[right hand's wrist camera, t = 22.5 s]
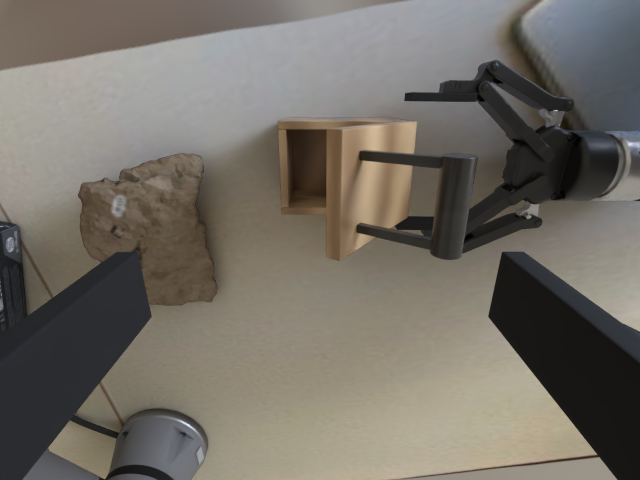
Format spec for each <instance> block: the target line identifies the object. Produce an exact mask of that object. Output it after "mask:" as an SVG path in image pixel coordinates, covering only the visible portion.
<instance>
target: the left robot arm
mask: <svg viewBox="0 0 640 480" xmlns="http://www.w3.org/2000/svg"><path fill="white" fill-rule="evenodd" d="M491 82H492V83H494V84H495V85H497V86H498V87H500V88H502V89H503V90H505V91H506V92H508V93H510V94H511V95H513V96H514V97H516V98H518V99H519V100H521V101H522V102H524V103H525V104H527V105H529V106H531V107H533V108H535V109H540V110H539V112H538V113H539V114H540V116H541V117H542V118H544V119H545V121H546V124H545V125H544V126H542V127H540V128H538V129H537V130H535V131H534V129H532V128H531V127H529V126H528V125H527V124H526V123H525V122H524V121H523V120H522V119H521V118H520V116H519V115H518V114H517V113H516V112H515V111H514V110H513V108H512V107H511V106H510V105H509V104H508V103H507V102H506V100H505V99H504V98H503V97H502V96H501V95H500V94H499V93H498V91H497V90H496V89H495V88H494V87H493V86H492V85H491ZM476 100H477V101H478V103H479V104H480V105H481V106H482V107H483V108H484V109H485V110H486V111H487V112H488V114H489V115H490V116H491V117H492V118H493V119H494V120H495V121H496V122H497V123H498V125H499V126H500V127H501V128H502V129H503V130H504V131H505V132H506V135H507V137H508V138H509V139H510V140H511V141H512V142H513V143H514V145H513V146H512V148H511V149H510V150H508V152H507V165H506V167H505V169H504V171H503V176H502V178H504V180H505V183H503V184H502V185H500V186H499V187H497V188H496V189H495V190H494V193H492V194H491V195H489V196H488V197H487V198H485V199H484V200H482V201H481V202H480V203H478V204H477V205H475V206H474V207H472V208H471V209H470V210H469V213H468V219H467V225H466V231H465V237H464V244H463V250H462V253H465V252H468V251H470V250H472V249H475V248H477V247H480V246H482V245H484V244H487V243H489V242H492V241H494V240H497V239H499V238H501V237H504V236H506V235H509V234H511V233H514V232H516V231H518V230H521V229H529V228H538V227H540V226H541V225H542V219H541V218H539V217H538V212H539V204H541V203H543V202H545V201H548V200H569V201H588V200H592V201H640V131H604V132H603V131H584V130H563V129H562V128H560V124H561V121H562V119H563V116H564V113H565V112H566V111H570V110H571V109H572V108H573V106H574V101H573V100H572V99H569V98H562V97H555V96H553V95H551V94H550V93H548V92H547V91H545V90H543V89H542V88H540V87H539V86H537V85H536V84H534V83H533V82H531V81H529V80H528V79H526V78H525V77H523V76H522V75H520V74H519V73H517V72H515V71H514V70H512V69H511V68H509V67H508V66H506V65H505V64H503V63H501V62H500V61H498V60H494V61H490V62H486V63H483V64H481V65H480V66H479V68H478V74H477V76H476V77H475V79H474V80H472V81H453V80H450V81H445V82H443V83H440V90H439V93H416V92H411V93H405V100H404V101H445V102H476ZM511 191H513V192H511ZM521 200H524V201H526V205H525V206H524V207H522V208H519V209H516V211H515V212H516V213H511V214H507V215H504V216H502V217H500V218H497V219H495V220H493V221H490V222H488V223H485V222H486V221H488V220H489V219H491V218H492V217H494V216H495V215H497V214H498V213H499V212H501V211H502V210H504V209H505V208H507V207H508V206H510V205H515V204H517V203H518V202H520V201H521ZM433 222H434V217H417V216H408V217H407V218H406V219H404V220H403V221H401V222H400V223H398V224H397V225H395V227H396V228H397V230H421V232H422V234H423V235H424V236H426V237H432V230H433ZM483 223H485V224H483ZM482 224H483V225H482ZM480 225H481V226H480Z"/></svg>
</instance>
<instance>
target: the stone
mask: <svg viewBox="0 0 640 480" xmlns="http://www.w3.org/2000/svg"><path fill="white" fill-rule="evenodd" d="M203 171H204V166H203V160H202V157H201V156H198V155H195V154H184V153H181V154H176V155H171V156H167V157H163V158H160V159H158V160H156V161H148V162H146V163H142V164H141V165H139V166H137V167H134V168H131V169H123V170H122V171H121V172H120V177H119V179H120V180H119V181H117V182H114V181H111V180H109V179H108V178H104V179H103V180H101V181H97V182H89V183H83V184H81V188H80V191H79V194H78V197H79V198H80V199H81V201H82V204H83V205H82V213H81V215H80V218H81V221H80V231H81V236H82V240H83V244H84V246H85V248H86V250H87V251H88V253H89V255H90V256H91V257H92V258H94V259H96V260H99V261H100V262H101V263H102V262H103V261H105V260H106V259H107V258H109V257H110V256H111V255H113V254H114V253H116V252H138V255H139V260H140V264H141V269H142V274H143V278H144V283H145V288H146V292H147V297H148V302H149V304H158V305H167V306H171V305H183V304H185V303H186V302H195V301H206V302H212V299H213V297H214V296H215V295H216V293H217V285H216V281H215V279H214V277H213V274H214V263H213V260H212V258H211V257H210V253H209V251H208V249H207V247H206V242H207V240H206V229H207V228H206V224H205V222H202V221H199V213H198V210H197V208H196V205H195V203H196V198H197V196H198V194H199V190H200V185H199V184H200V183H201V181H202V179H203V178H202V173H203Z"/></svg>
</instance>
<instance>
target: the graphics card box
mask: <svg viewBox="0 0 640 480" xmlns="http://www.w3.org/2000/svg"><path fill="white" fill-rule="evenodd" d="M19 232H20V231H19V227H18V226H17V225H16V224H11V223H6V222H0V333H2V332H4V331H6V330H8V329H10V328H12V327H14V326H15V325H16V324H18V323H19V322H21V321H22V320H23V319H25V318H26V317H27V309H26V299H25V289H24V278H23V267H22V255H21V244H20V233H19Z"/></svg>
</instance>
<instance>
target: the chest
mask: <svg viewBox="0 0 640 480" xmlns="http://www.w3.org/2000/svg"><path fill="white" fill-rule="evenodd" d="M401 121H406V120H401V119H395V118H285V119H283V120H280V121H278V129H279V130H278V142H279V164H280V187H281V207H282V208H281V209H282V214H326V156H327V129H329V128H339V127H350V126H360V125H370V124H381V123H391V122H401Z"/></svg>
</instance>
